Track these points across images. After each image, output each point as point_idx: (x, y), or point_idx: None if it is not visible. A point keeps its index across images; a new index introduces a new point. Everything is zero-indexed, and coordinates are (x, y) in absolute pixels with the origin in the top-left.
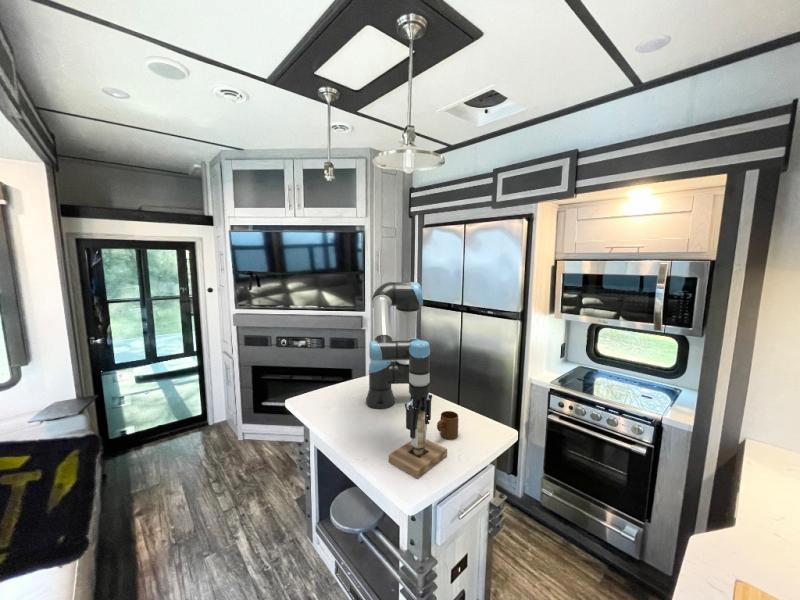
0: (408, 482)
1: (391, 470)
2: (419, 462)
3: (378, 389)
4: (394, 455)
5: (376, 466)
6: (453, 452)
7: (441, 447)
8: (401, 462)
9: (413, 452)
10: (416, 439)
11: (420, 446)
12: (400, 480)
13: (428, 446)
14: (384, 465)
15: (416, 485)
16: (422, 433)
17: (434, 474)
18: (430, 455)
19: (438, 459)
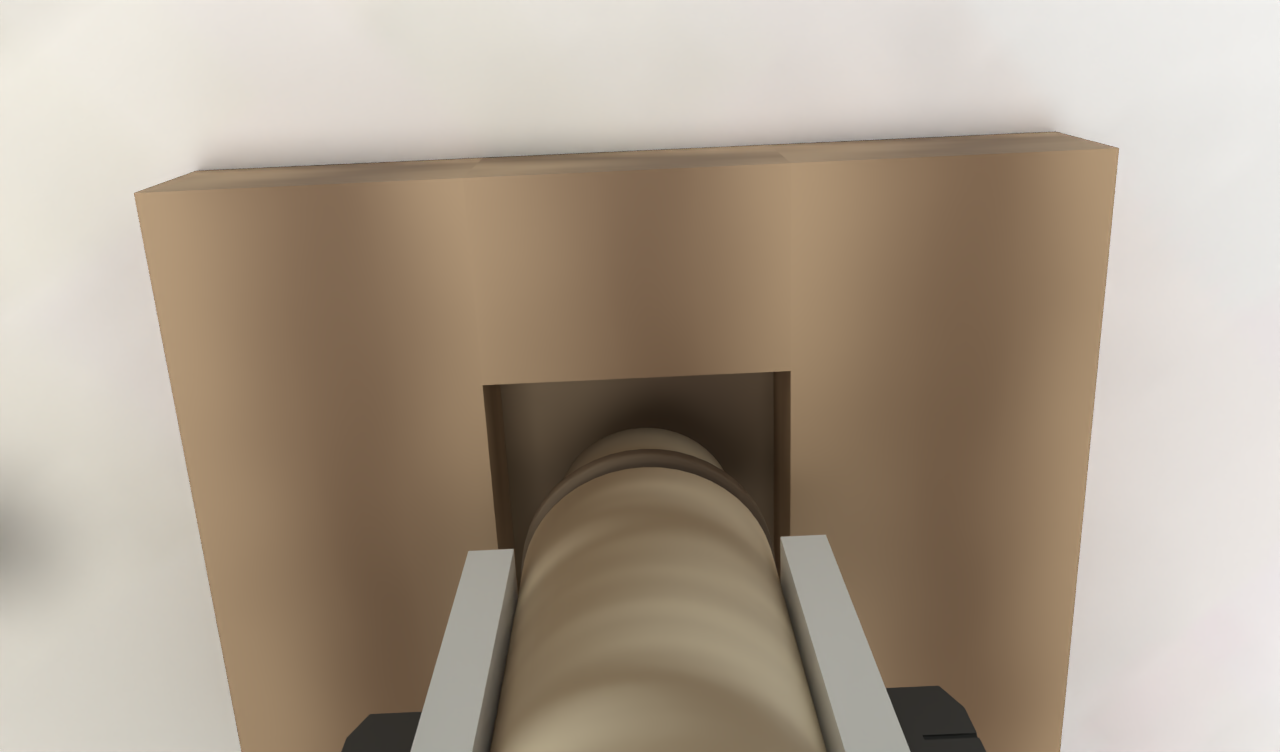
0: (1210, 185)
1: (1133, 550)
2: (890, 295)
3: None
4: (1009, 712)
5: (1189, 744)
6: (11, 158)
7: (196, 307)
8: (1078, 517)
9: None
10: (862, 632)
11: (718, 501)
12: (1243, 304)
13: (373, 500)
14: (1103, 690)
15: (1196, 41)
16: (695, 653)
17: (772, 3)
18: (571, 290)
19: (461, 168)
